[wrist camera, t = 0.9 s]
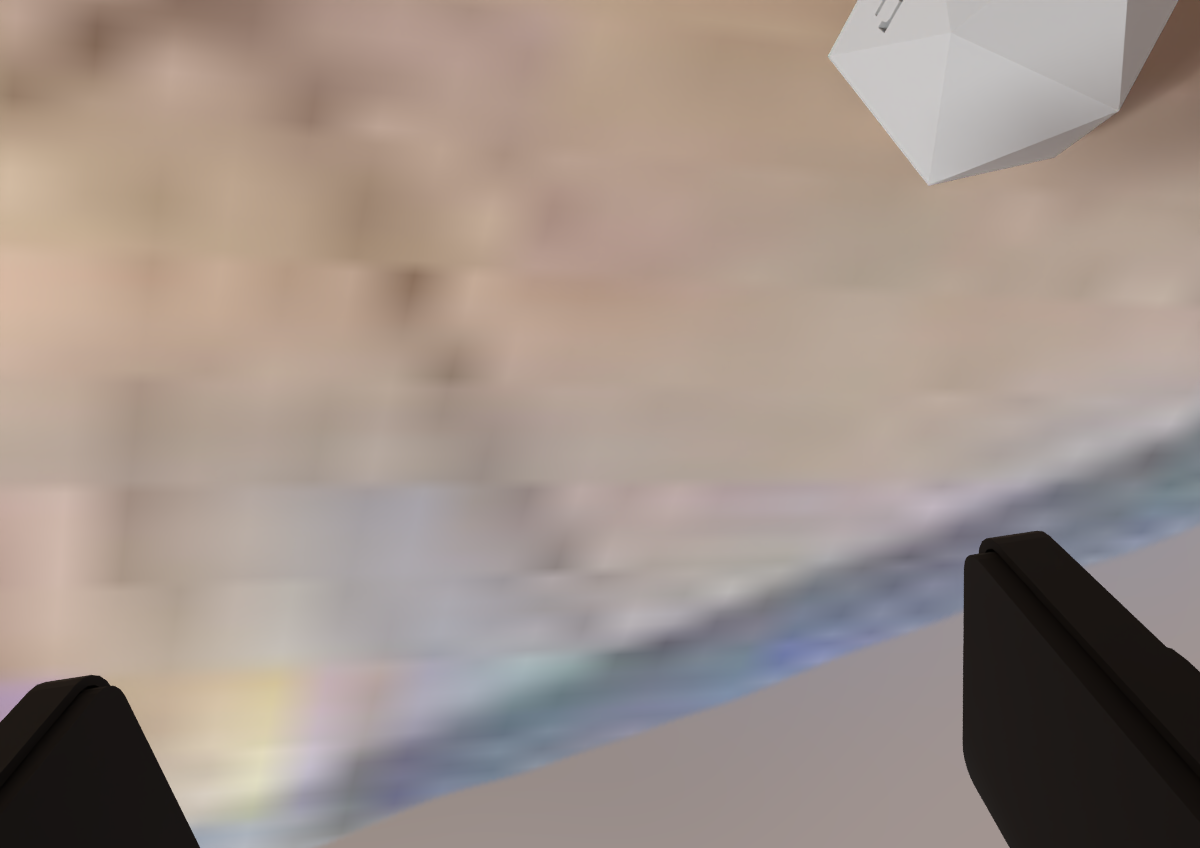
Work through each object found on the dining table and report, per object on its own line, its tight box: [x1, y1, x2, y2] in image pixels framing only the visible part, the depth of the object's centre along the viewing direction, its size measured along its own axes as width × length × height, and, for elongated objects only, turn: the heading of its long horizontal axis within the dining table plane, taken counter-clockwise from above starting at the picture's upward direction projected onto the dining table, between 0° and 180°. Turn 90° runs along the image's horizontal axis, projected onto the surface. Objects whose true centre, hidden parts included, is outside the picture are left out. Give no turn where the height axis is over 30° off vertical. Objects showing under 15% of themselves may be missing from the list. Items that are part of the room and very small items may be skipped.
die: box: [828, 0, 1178, 186], centre depth 25 cm, size 8×9×10 cm
